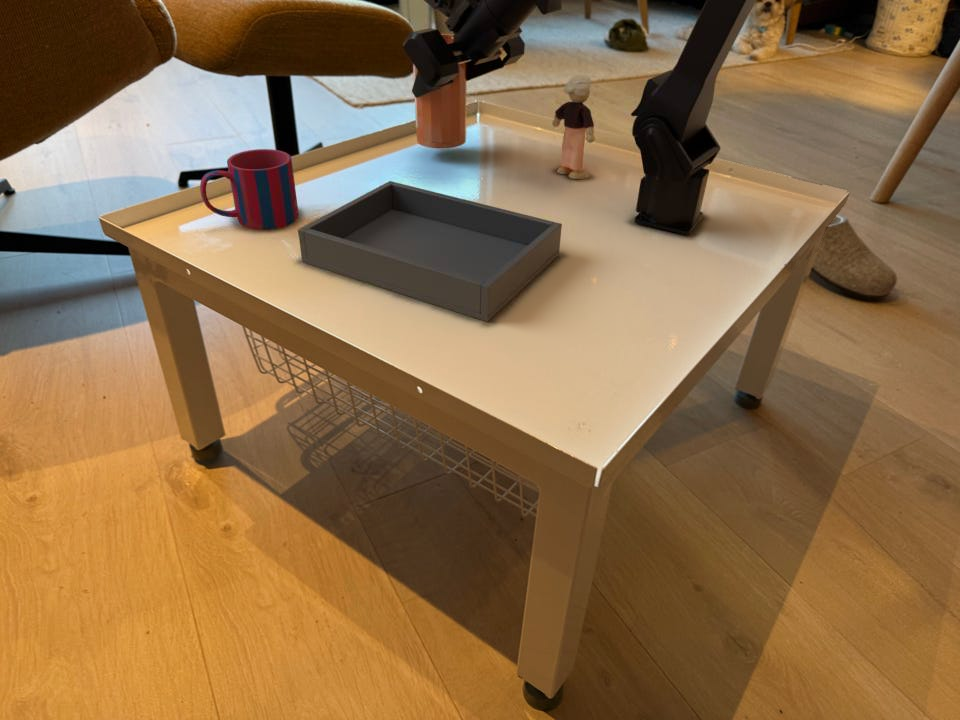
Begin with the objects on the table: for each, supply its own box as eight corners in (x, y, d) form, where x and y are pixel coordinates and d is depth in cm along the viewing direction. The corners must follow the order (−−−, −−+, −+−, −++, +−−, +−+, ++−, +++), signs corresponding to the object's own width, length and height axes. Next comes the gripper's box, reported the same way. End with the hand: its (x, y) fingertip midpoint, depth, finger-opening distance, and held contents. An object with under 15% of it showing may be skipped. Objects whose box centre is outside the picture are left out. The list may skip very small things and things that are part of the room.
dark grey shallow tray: (559, 255, 74) (562, 223, 71) (487, 322, 62) (489, 287, 60) (391, 209, 82) (389, 180, 80) (301, 261, 71) (297, 229, 69)
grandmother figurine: (601, 176, 93) (615, 76, 85) (584, 184, 90) (596, 81, 83) (556, 161, 97) (565, 65, 90) (538, 168, 95) (546, 69, 87)
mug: (305, 224, 78) (298, 165, 74) (213, 240, 74) (200, 178, 70) (290, 202, 83) (282, 145, 79) (202, 216, 79) (189, 157, 75)
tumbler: (475, 137, 97) (475, 37, 90) (449, 152, 93) (447, 47, 85) (434, 129, 100) (431, 31, 93) (407, 143, 95) (401, 40, 88)
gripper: (510, -57, 87) (442, 27, 99) (412, -48, 75) (348, 47, 86) (558, 20, 88) (485, 95, 100) (469, 41, 76) (398, 124, 87)
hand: (432, 89), depth 93 cm, fingers closed on tumbler, 7 cm apart
